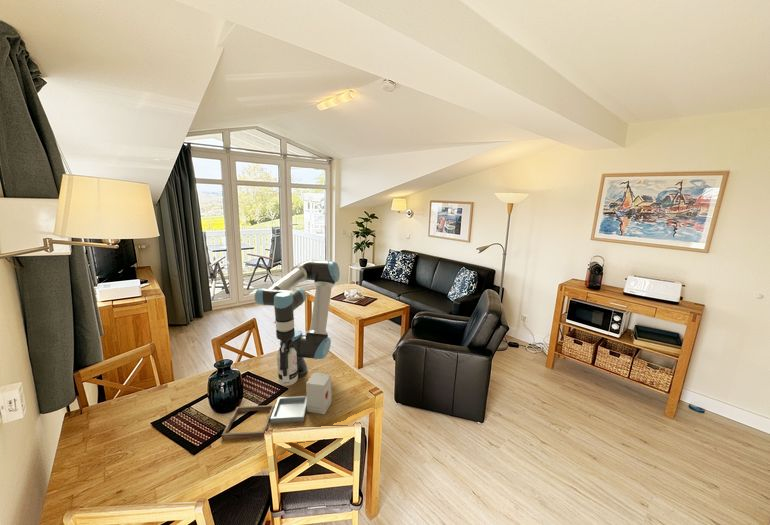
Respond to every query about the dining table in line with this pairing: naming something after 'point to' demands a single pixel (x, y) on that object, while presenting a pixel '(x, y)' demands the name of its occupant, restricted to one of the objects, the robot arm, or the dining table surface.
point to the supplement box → (318, 393)
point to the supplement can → (292, 367)
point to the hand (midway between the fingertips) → (288, 375)
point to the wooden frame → (247, 434)
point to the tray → (289, 409)
